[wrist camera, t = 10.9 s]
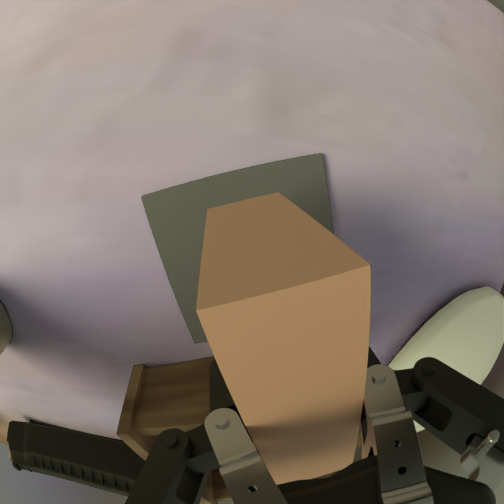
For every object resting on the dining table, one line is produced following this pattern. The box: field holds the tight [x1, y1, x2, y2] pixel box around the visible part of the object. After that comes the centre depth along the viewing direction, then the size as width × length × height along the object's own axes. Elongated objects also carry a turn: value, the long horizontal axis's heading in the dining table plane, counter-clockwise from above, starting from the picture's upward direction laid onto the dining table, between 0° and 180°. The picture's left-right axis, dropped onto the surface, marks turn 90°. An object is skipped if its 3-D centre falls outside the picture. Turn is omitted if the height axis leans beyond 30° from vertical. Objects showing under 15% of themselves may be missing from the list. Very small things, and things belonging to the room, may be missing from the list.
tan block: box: [196, 192, 371, 485], centre depth 13 cm, size 12×4×10 cm, turn 12°
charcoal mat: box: [141, 153, 333, 343], centre depth 23 cm, size 14×14×1 cm
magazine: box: [7, 419, 145, 496], centre depth 26 cm, size 17×3×30 cm
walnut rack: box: [117, 356, 341, 504], centre depth 26 cm, size 24×20×9 cm
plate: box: [388, 286, 504, 432], centre depth 31 cm, size 28×6×27 cm
